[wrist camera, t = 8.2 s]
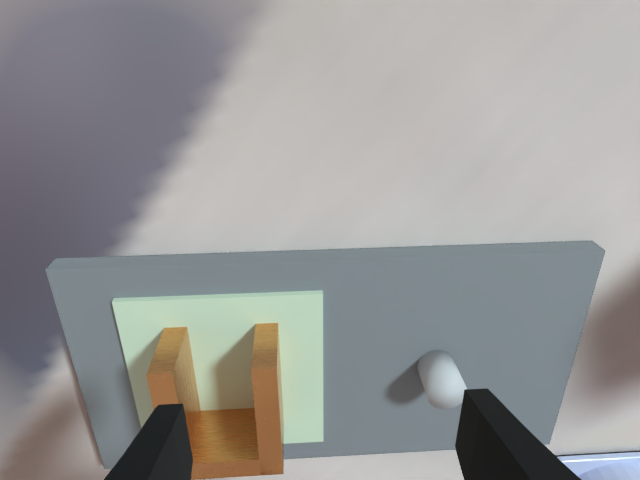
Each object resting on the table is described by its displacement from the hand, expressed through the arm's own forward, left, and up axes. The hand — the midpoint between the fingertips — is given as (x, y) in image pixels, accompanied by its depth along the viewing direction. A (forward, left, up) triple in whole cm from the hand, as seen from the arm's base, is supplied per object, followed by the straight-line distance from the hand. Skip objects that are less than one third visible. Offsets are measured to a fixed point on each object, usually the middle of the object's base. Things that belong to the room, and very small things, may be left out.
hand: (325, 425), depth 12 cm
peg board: (-6, -1, -10) cm, 12 cm away
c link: (-6, +4, -9) cm, 11 cm away
